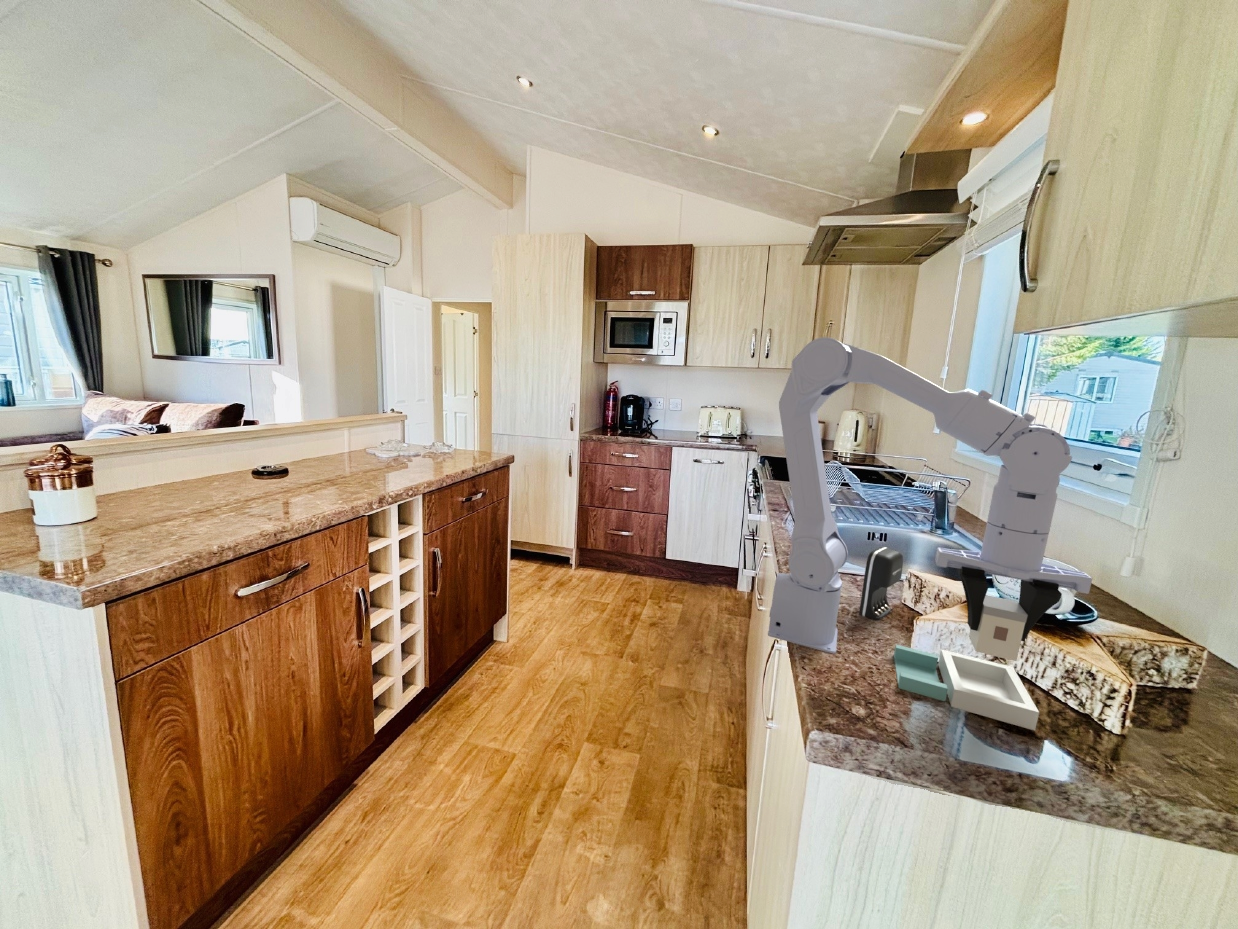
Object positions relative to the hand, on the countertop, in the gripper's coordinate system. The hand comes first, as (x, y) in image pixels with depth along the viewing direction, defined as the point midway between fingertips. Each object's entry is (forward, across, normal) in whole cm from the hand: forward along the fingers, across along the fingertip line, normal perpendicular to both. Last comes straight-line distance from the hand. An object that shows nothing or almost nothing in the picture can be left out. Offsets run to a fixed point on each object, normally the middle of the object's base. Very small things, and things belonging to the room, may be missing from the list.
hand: (994, 631), depth 59 cm
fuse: (+2, 0, 0) cm, 2 cm away
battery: (+9, -11, +18) cm, 23 cm away
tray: (+9, 0, 0) cm, 9 cm away
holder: (+9, -7, 0) cm, 11 cm away
